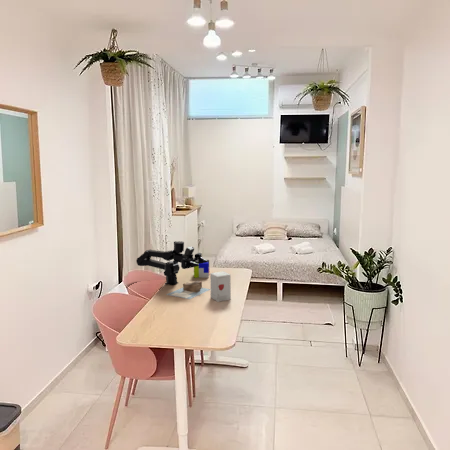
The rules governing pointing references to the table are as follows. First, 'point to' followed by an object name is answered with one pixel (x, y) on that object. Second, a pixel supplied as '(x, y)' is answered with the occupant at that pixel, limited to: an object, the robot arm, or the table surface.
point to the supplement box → (220, 286)
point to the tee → (192, 286)
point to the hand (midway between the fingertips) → (202, 263)
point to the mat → (187, 293)
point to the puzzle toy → (201, 270)
